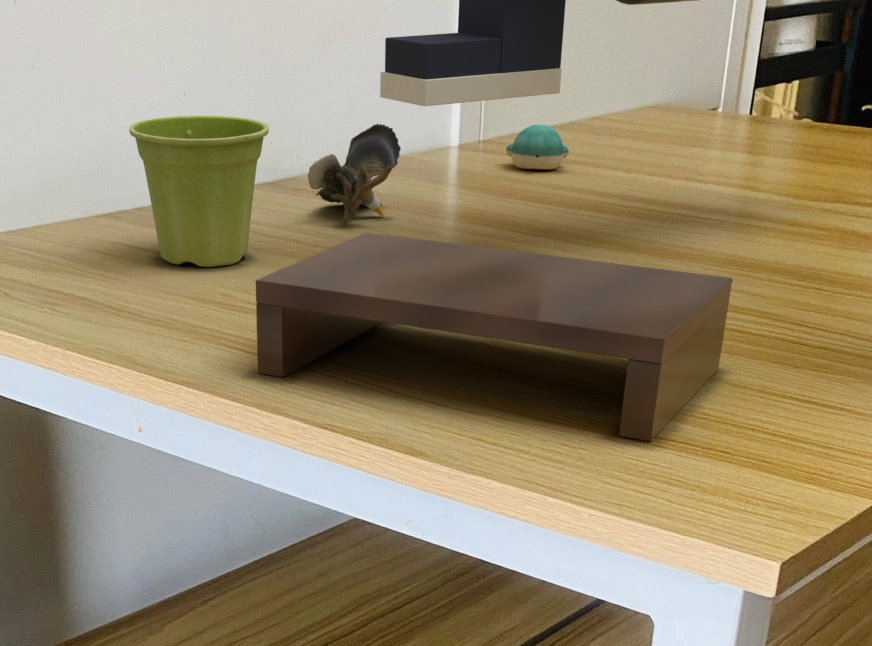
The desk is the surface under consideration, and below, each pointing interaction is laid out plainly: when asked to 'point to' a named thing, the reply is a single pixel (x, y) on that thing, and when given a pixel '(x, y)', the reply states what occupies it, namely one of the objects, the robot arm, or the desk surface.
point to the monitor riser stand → (504, 311)
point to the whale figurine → (537, 148)
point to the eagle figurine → (357, 171)
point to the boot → (480, 55)
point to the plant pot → (201, 184)
